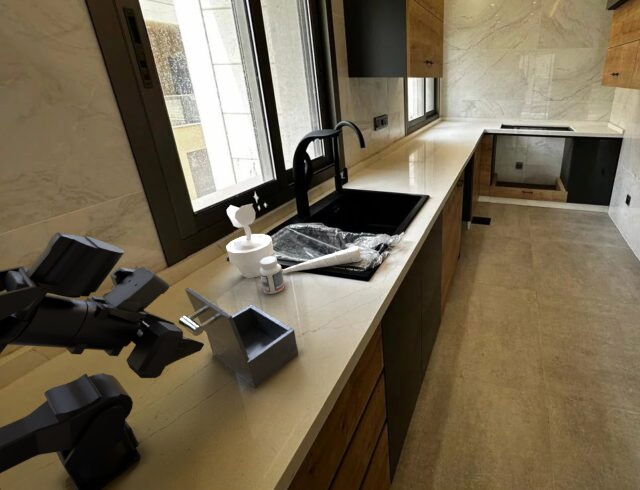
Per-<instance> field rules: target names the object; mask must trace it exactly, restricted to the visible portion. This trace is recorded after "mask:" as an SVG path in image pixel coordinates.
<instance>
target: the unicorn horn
mask: <svg viewBox="0 0 640 490" xmlns="http://www.w3.org/2000/svg"><path fill="white" fill-rule="evenodd" d="M361 261H362V255H361V250H360V247H359V246H358V245H354V246H351V247H348V248H345V249H342V250H339V251H335V252H333V253H329V254H325V255H322V256H321V257H315V258H312V259H309V260H306V261H304V262H301V263H297V264H295V265H292V266H289V267H287V268H284V269H282V273H290V272H298V271H299V272H300V271H306V270H307V271H308V270H313V269H319V268H327V267H332V266H339V265H345V264H351V263H358V262H361Z"/></svg>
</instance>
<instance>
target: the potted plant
mask: <svg viewBox="0 0 640 490" xmlns="http://www.w3.org/2000/svg"><path fill="white" fill-rule="evenodd" d="M252 197H253V198H254V199H255V201H256V203H258V200H259V196H258V195H257V193H256V192H254V196H252ZM253 205H254V203H249V204H245V205H241V206H240V207H237V206H235V205H232V204H230V205H229V207H227V209H226V215H227V216H228V219H229V220H230V222H231V223H232V226H233V227H235V228H237V229H242V228H243V230H244V234H245V235H243V236H240V237H237V238H235V239H233V240H231V241H230V242H229V243H228V244H227V245H226V252H227V256H228V260H229V263H230V264H232V265H234V266H235V267H236V268H237V269H238V271H239V272H240V273H241V275H242V277H245V278H249V279H251V278H258V277H261V276H260V269H261V264H260V261H261V260H262V259H263V258H266V257H270V256H272V255H273V254H274V253H275V251H274V246H273V240H272V238H271V236H270V235H268V234H264V233H252V230H251V227H250V226H249V225H251V224H253V223H254V221H255V220H256V211H255V209H254V207H253ZM263 206H264V207H265V208H267V206H268V204H267V203H266V202H264V204H263ZM257 208H258V211H260V210H261V207H260V205H258V206H257Z"/></svg>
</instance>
